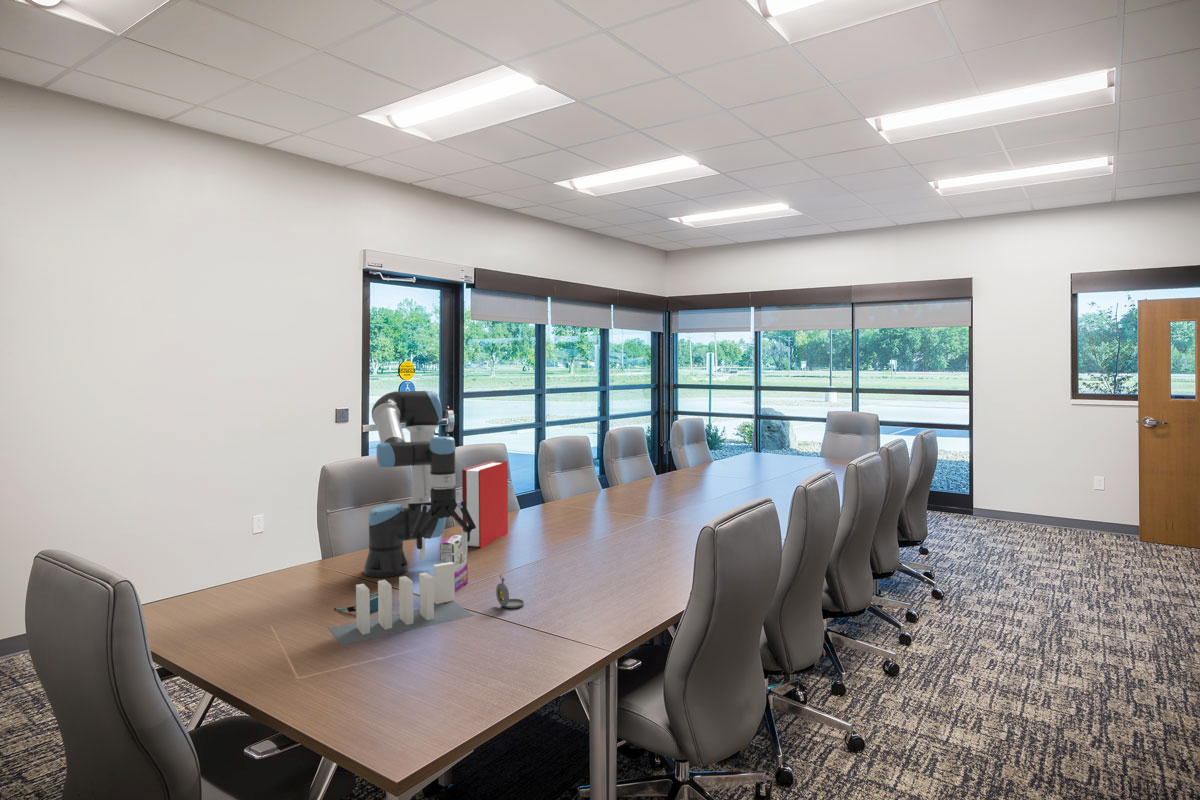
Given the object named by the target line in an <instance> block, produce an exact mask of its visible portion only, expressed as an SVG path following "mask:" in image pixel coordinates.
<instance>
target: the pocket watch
mask: <svg viewBox="0 0 1200 800" xmlns="http://www.w3.org/2000/svg"><path fill="white" fill-rule="evenodd" d="M499 578H500V581H501V582H500V583H498V584H497V586H496V589H495V593H496V598H497V599H496V600H497V601H498V603H499V605H500V606H503V608H506V609H517V608H521V607H523V606H524V604H525V602H524V599H520V598H510V593H509V589H508V587H507V585H506V584H505V583H504V582H505V577H504V576H503V575H499Z"/></svg>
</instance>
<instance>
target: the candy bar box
mask: <svg viewBox="0 0 1200 800" xmlns="http://www.w3.org/2000/svg"><path fill="white" fill-rule="evenodd" d="M439 549H440V550H439V552H440V554H439V555H440V564H442V563H448V562H453V563H454V580H455V593H456V592H457V591H458V590H459V589H461V588H462V587H464V586H466V585H467V584H468V578H469V576H468V553H463V552H462V534H453V535H451V536H450V537H448V538H447V539H444V540H443V541H442V542H440V543H439Z"/></svg>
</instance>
